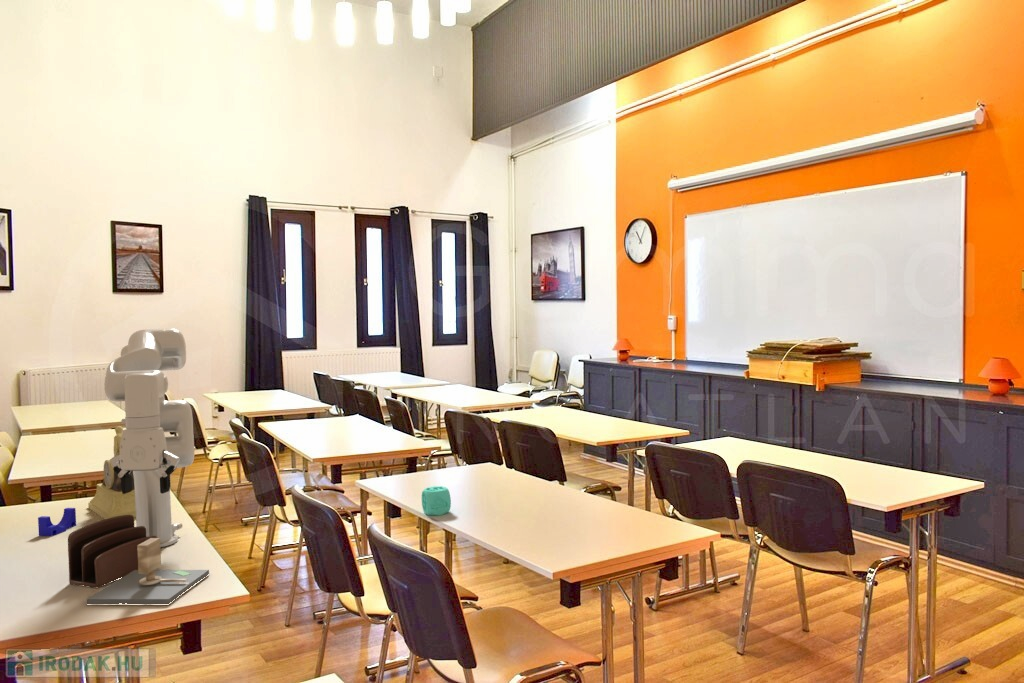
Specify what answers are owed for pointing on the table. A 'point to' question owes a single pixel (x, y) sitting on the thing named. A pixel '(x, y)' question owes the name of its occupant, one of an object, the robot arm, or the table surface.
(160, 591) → the dial board
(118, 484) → the decorative clock
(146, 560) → the tuning knob
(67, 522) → the cable clip
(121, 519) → the letter holder
